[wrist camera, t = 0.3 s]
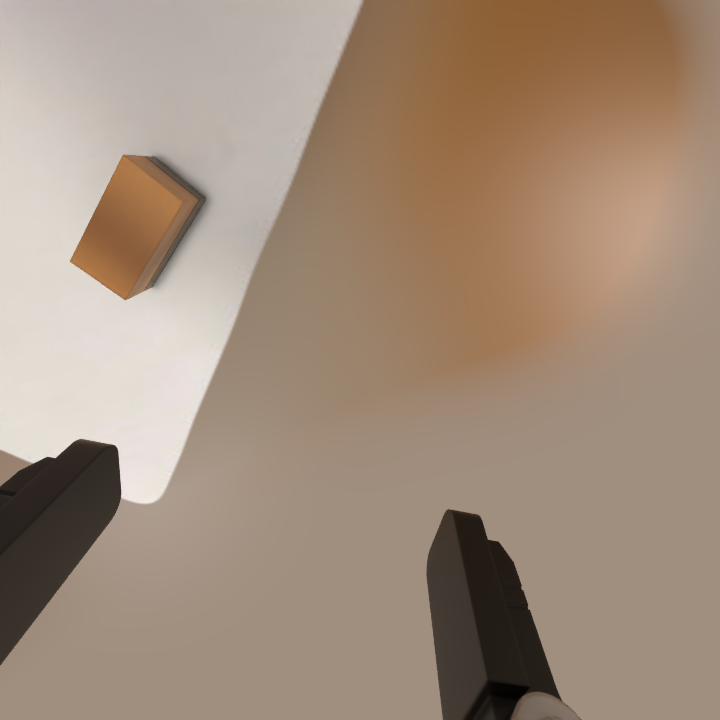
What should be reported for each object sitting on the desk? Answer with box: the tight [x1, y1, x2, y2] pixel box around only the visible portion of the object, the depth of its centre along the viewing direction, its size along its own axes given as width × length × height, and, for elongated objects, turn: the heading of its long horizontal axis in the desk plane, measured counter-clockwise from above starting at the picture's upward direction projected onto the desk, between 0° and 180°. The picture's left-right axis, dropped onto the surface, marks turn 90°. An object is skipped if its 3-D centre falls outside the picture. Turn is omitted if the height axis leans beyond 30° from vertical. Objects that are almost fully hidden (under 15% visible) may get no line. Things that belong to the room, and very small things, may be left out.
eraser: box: [70, 155, 205, 300], centre depth 23 cm, size 7×4×3 cm, turn 140°
